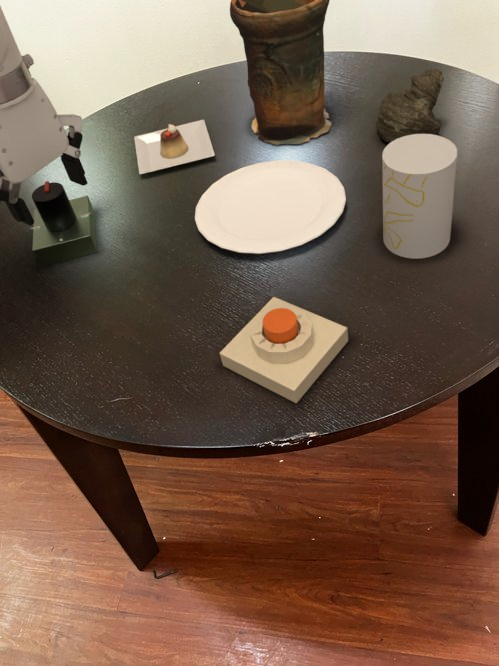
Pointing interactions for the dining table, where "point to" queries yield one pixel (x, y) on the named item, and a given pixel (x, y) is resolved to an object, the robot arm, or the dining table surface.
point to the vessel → (284, 66)
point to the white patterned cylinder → (418, 194)
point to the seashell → (411, 108)
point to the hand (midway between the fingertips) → (53, 201)
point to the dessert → (173, 147)
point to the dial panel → (66, 236)
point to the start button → (280, 325)
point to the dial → (54, 206)
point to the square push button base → (285, 352)
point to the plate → (270, 207)
